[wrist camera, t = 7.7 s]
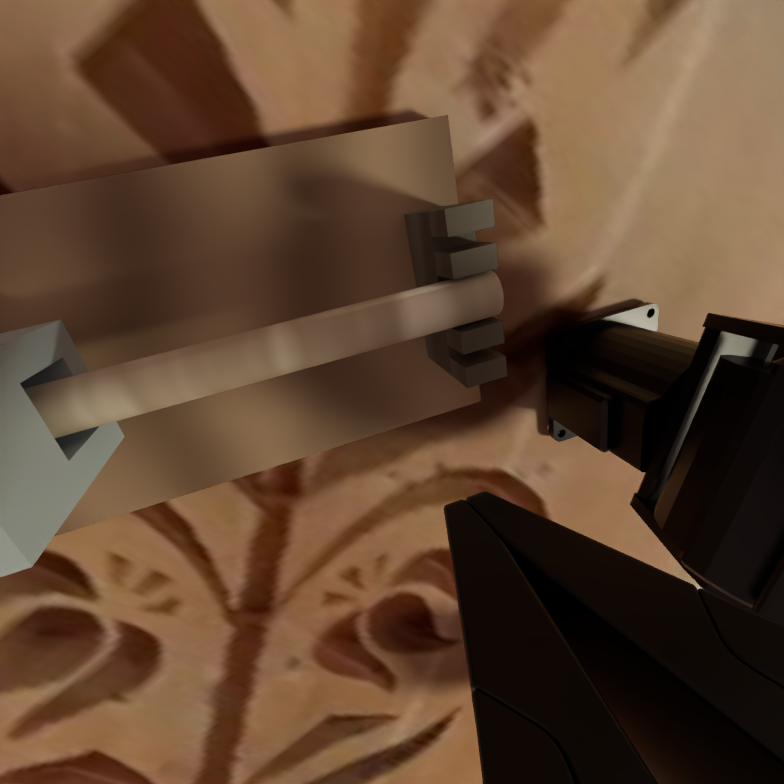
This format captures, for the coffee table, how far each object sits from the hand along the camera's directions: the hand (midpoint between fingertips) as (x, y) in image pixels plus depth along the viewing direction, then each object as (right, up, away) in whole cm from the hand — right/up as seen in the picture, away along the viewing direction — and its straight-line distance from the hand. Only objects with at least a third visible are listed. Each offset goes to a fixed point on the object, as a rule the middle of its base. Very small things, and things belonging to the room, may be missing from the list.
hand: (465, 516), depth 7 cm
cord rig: (-10, +4, +9) cm, 14 cm away
